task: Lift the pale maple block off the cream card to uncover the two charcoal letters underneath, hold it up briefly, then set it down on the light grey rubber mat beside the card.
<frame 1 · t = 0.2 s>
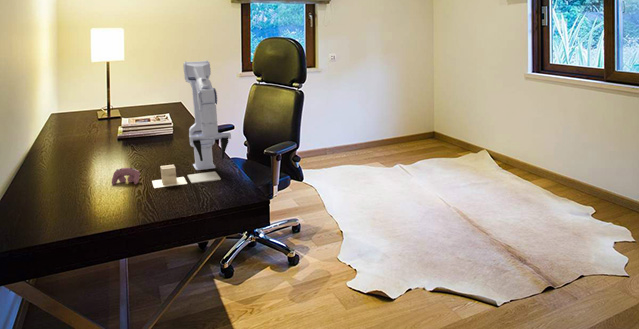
hand: (212, 159, 183), 10 cm above the table, tool pointing down, fingers open, 7 cm apart
video game controller: (126, 183, 191), on the table
maple block: (169, 182, 191), resting on cream card
grey mat: (203, 178, 195), on the table
cream card: (169, 182, 191), on the table
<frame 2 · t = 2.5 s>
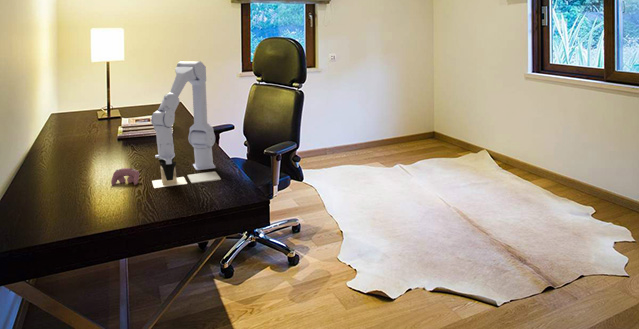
hand: (168, 178, 190), 2 cm above the table, tool pointing down, fingers closed on maple block, 5 cm apart
maple block: (169, 182, 191), resting on cream card, touching gripper
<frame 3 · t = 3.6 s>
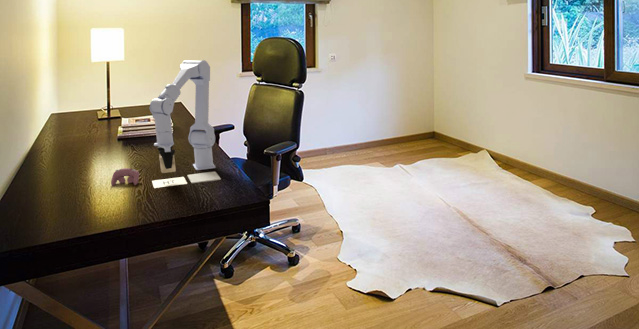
hand: (167, 166, 189), 6 cm above the table, tool pointing down, fingers closed on maple block, 5 cm apart
maple block: (168, 170, 189), point 5 cm above the table, touching gripper
everything else where it was.
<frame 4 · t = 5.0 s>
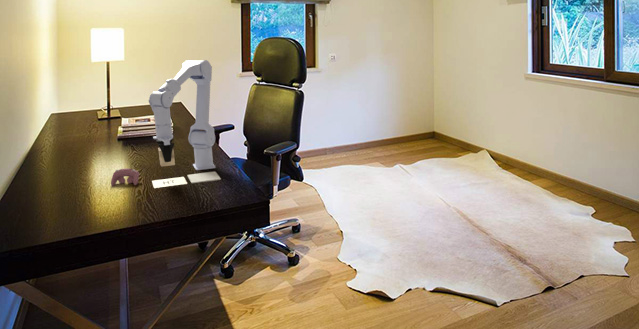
hand: (167, 160, 188), 9 cm above the table, tool pointing down, fingers closed on maple block, 5 cm apart
maple block: (167, 164, 189), point 7 cm above the table, touching gripper
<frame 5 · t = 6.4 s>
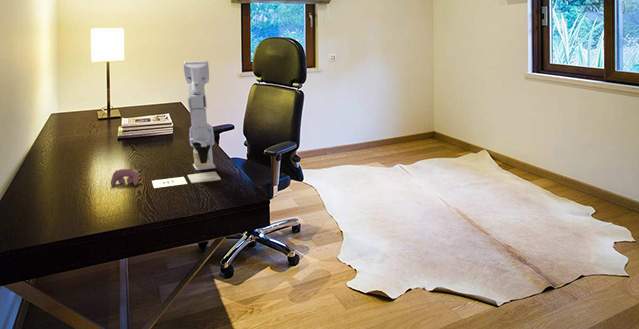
hand: (202, 161, 194), 7 cm above the table, tool pointing down, fingers closed on maple block, 5 cm apart
maple block: (202, 165, 194), point 5 cm above the table, touching gripper
when the fingers open (3 cm above the table, at t = 7.5 s): maple block drops 1 cm, resting on grey mat.
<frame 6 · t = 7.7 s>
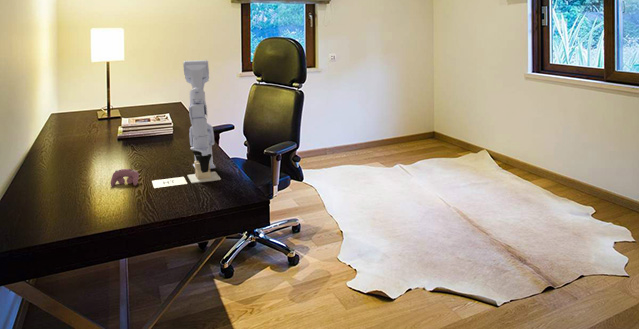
hand: (203, 169, 194), 3 cm above the table, tool pointing down, fingers open, 7 cm apart
maple block: (203, 176, 195), point 1 cm above the table, touching grey mat
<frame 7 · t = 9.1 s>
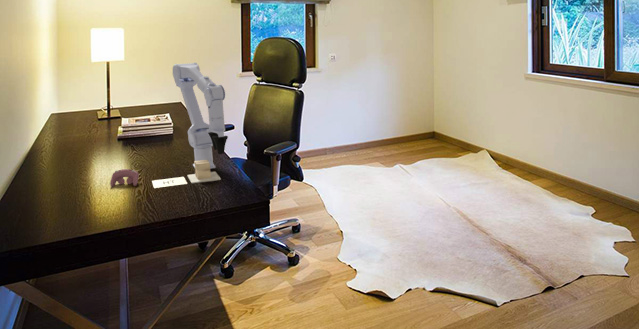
hand: (219, 151, 197), 9 cm above the table, tool pointing down, fingers open, 7 cm apart
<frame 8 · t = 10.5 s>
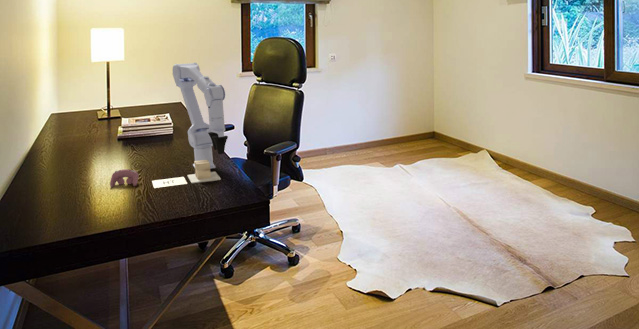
hand: (219, 151, 197), 9 cm above the table, tool pointing down, fingers open, 7 cm apart
at the end: maple block 0.3 cm off-centre on the grey mat, point 0.6 cm above the grey mat's base; maple block tilted 0°; maple block touching grey mat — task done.
